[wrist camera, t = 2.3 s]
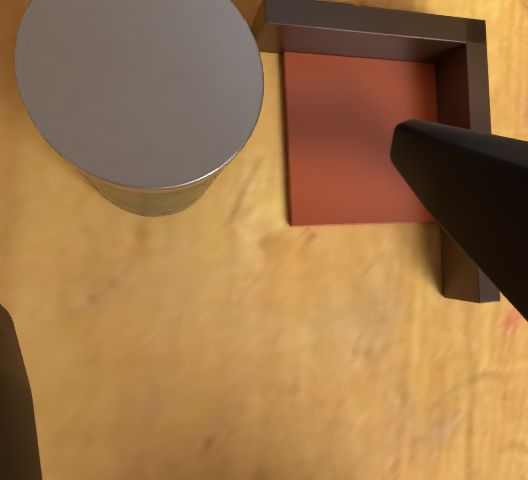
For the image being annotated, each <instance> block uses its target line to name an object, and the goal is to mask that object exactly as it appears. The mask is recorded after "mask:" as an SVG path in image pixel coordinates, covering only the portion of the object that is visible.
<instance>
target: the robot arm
mask: <svg viewBox="0 0 528 480" xmlns="http://www.w3.org/2000/svg"><path fill="white" fill-rule="evenodd" d="M390 159H391V162H392V164H393V165H394V167H395V168H396V169H397V171H398V172H399V173H400V175H401V176H402V178H403V179H404V180H405V182H406V183H407V184H408V186H409V187H410V189H411V190H412V191H413V193H414V194H415V195H416V197H417V198H418V200H419V201H420V202H421V204H422V205H423V206H424V207H425V209H426V210H427V211H428V212H429V214H430V215H431V216H432V217H433V218H434V219H435V220H436V221H437V222H438V224H439V225H440V226H441V227H442V228H443V229H444V230H445V231H446V232H447V233H448V235H449V236H450V237H451V238H452V239H453V240H454V241H455V242H456V243H457V245H458V246H459V247H460V248H461V249H462V250H463V251H464V252H465V253H466V254H467V256H468V257H469V258H470V259H471V260H472V261H473V262H474V263H475V264H476V265H477V267H478V268H479V269H480V270H481V271H482V272H483V273H484V274H485V275H486V276H487V278H488V279H489V280H490V281H491V282H492V283H493V284H494V285H495V286H496V287H497V289H498V290H499V291H500V292H501V293H502V294H503V295H504V296H505V297H506V298H507V300H508V301H509V302H510V303H511V304H512V305H513V306H514V307H515V308H516V309H517V311H518V312H519V313H520V314H521V315H522V316H523V317H524V318H525V319H526V320H527V322H528V142H527V141H522V140H518V139H513V138H508V137H503V136H498V135H493V134H488V133H483V132H478V131H473V130H468V129H463V128H458V127H453V126H449V125H444V124H439V123H434V122H429V121H424V120H419V119H409V120H406V121H403V122H401V123H399V124H397V125H396V127H395V128H394V132H393V138H392V143H391V149H390ZM0 480H42V473H41V465H40V457H39V448H38V440H37V432H36V424H35V415H34V407H33V400H32V393H31V388H30V384H29V380H28V376H27V372H26V369H25V365H24V361H23V357H22V354H21V350H20V346H19V342H18V338H17V335H16V331H15V327H14V323H13V320H12V318H11V316H10V314H9V313H8V311H7V310H6V309H5V308H4V307H3V306H2V305H1V304H0Z"/></svg>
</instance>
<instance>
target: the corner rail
mask: <svg viewBox="0 0 528 480" xmlns="http://www.w3.org/2000/svg"><path fill="white" fill-rule="evenodd" d="M251 31H252V33H253V35H254V37H255V40H256V43H257V46H258V48H259V52H269V53H282V54H283V72H284V94H285V116H286V138H287V160H288V182H289V204H290V226H291V227H297V226H328V225H358V224H389V223H419V222H437V221H436V220H435V219H434V218H433V217H432V216H431V215H430V214H429V212H428V211H427V210H426V209H425V207H424V206H423V205H422V204H421V202H420V201H419V200H418V198H417V197H416V195H415V194H414V193H413V191H412V190H411V189H410V187H409V186H408V184H407V183H406V182H405V180H404V179H403V178H402V176H401V175H400V173H399V172H398V171H397V169H396V168H395V167H394V165H393V164H392V162H391V159H390V149H391V143H392V138H393V132H394V128H395V127H396V125H397V124H399V123H401V122H403V121H406V120H409V119H419V120H424V121H429V122H434V123H439V124H444V125H449V126H453V127H458V128H463V129H468V130H473V131H478V132H483V133H488V134H491V118H490V99H489V80H488V61H487V42H486V24H485V20H478V19H469V18H461V17H452V16H444V15H435V14H427V13H418V12H410V11H401V10H392V9H384V8H375V7H367V6H358V5H350V4H341V3H333V2H324V1H316V0H262V2H261V4H260V7H259V9H258V11H257V14H256V16H255V19H254V21H253V23H252V26H251ZM440 233H441V252H442V272H443V292H444V297H445V298H450V299H456V300H462V301H468V302H474V303H489V302H499V301H500V291H499V290H498V289H497V287H496V286H495V285H494V284H493V283H492V282H491V281H490V280H489V279H488V278H487V276H486V275H485V274H484V273H483V272H482V271H481V270H480V269H479V268H478V267H477V265H476V264H475V263H474V262H473V261H472V260H471V259H470V258H469V257H468V256H467V254H466V253H465V252H464V251H463V250H462V249H461V248H460V247H459V246H458V245H457V243H456V242H455V241H454V240H453V239H452V238H451V237H450V236H449V235H448V233H447V232H446V231H445V230H444V229H443V228H442V227H441V226H440Z"/></svg>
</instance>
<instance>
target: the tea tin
mask: <svg viewBox="0 0 528 480" xmlns="http://www.w3.org/2000/svg"><path fill="white" fill-rule="evenodd" d="M15 72H16V80H17V84H18V88H19V92H20V96H21V98H22V101H23V103H24V106H25V108H26V111H27V113H28V114H29V116H30V118H31V120H32V121H33V123H34V125H35V127H36V128H37V129H38V131H39V132H40V133H41V135H42V136H43V137H44V139H45V140H46V141H47V142H48V143H49V144H50V145H51V146H52V147H53V148H54V149H55V150H56V151H57V152H58V153H59V154H60V155H61V156H62V157H63V158H64V159H65V160H66V161H67V162H69V163H70V164H71V165H72V166H74V167H75V168H76V169H78V170H79V171H80V172H81V173H82V174H83V175H84V176H85V177H86V178H87V179H88V180H89V181H90V182H91V183H92V184H93V185H94V186H95V187H96V188H97V189H98V190H99V191H100V192H101V193H102V194H103V195H104V196H105V197H106V198H107V199H108V200H109V201H110V202H112V203H113V204H115V205H116V206H118V207H119V208H121V209H123V210H126V211H128V212H131V213H134V214H137V215H142V216H153V217H156V216H166V215H170V214H174V213H177V212H180V211H182V210H184V209H186V208H188V207H189V206H191V205H192V204H193V203H195V202H196V201H197V200H198V199H199V198H200V197H201V196H202V195H203V194H204V193H205V191H206V190H207V189H208V188H209V186H210V185H211V184H212V183H213V181H214V180H215V179H216V177H217V176H218V175H219V174H220V172H221V171H222V170H223V169H224V167H226V166H227V165H228V164H229V163H230V162H231V161H232V160H233V159H234V158H235V156H236V155H237V154H238V153H239V152H240V150H241V149H242V148H243V147H244V145H245V144H246V142H247V141H248V139H249V137H250V136H251V134H252V132H253V130H254V128H255V125H256V123H257V121H258V118H259V114H260V111H261V107H262V101H263V95H264V74H263V65H262V60H261V56H260V52H259V48H258V46H257V43H256V40H255V37H254V35H253V33H252V31H251V29H250V27H249V25H248V23H247V21H246V20H245V18H244V16H243V15H242V13H241V12H240V10H239V9H238V8H237V6H236V5H235V4H234V3H233V2H232V0H31V2H30V4H29V6H28V8H27V9H26V11H25V13H24V16H23V18H22V21H21V24H20V26H19V29H18V34H17V39H16V44H15Z"/></svg>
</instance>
